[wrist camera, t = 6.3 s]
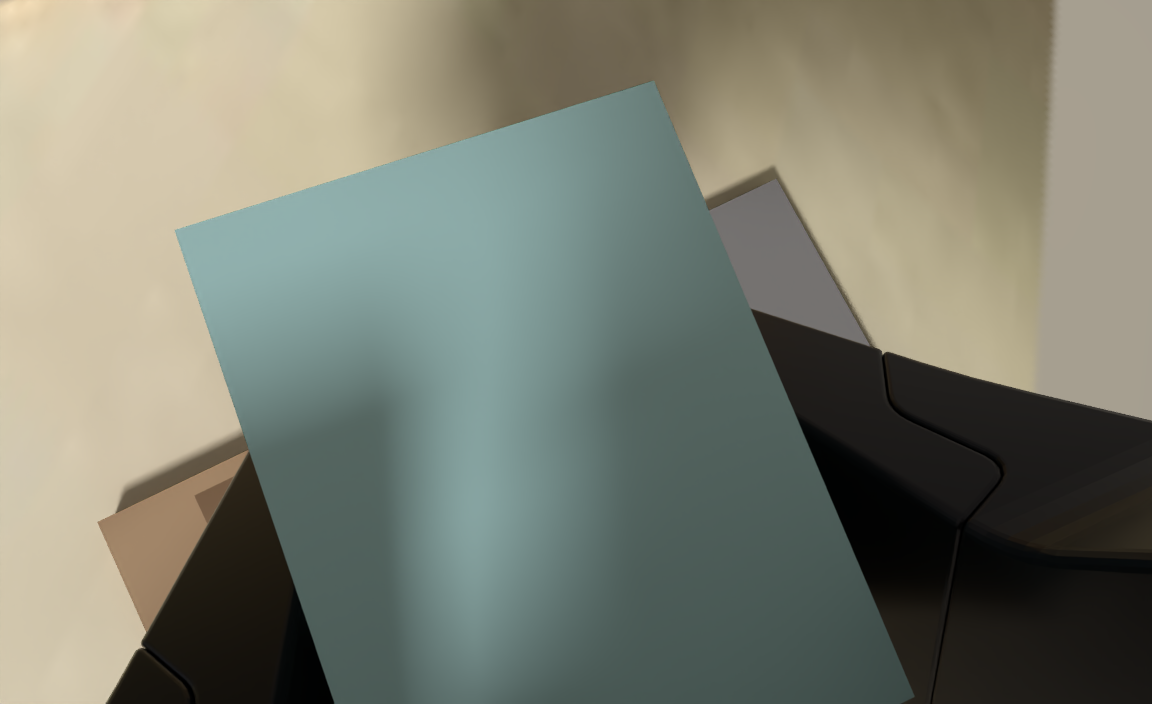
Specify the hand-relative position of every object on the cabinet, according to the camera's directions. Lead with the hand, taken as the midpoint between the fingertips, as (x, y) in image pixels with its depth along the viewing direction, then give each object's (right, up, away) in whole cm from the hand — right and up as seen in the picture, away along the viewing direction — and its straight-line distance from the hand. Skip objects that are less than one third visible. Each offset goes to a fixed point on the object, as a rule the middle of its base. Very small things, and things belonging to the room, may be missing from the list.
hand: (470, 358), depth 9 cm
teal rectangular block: (0, -2, +6) cm, 6 cm away
